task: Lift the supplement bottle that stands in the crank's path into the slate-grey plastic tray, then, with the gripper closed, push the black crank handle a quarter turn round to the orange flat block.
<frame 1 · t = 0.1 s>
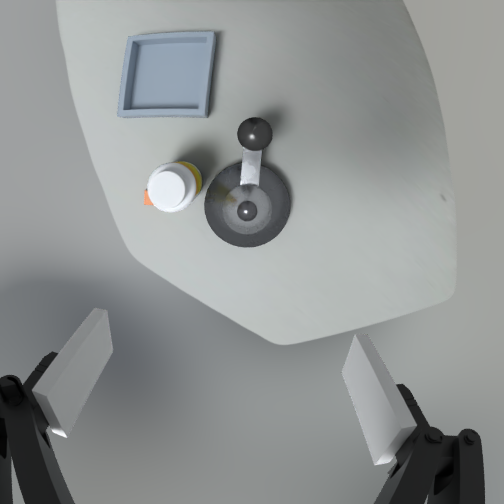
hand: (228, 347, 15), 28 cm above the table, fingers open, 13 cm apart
tray: (169, 76, 34), on the table
crank housing: (247, 203, 40), on the table
crank: (250, 179, 34), point 5 cm above the table, hinge at 0.0°
orange flat block: (156, 197, 40), on the table
supplement bottle: (182, 181, 39), on the table, touching orange flat block
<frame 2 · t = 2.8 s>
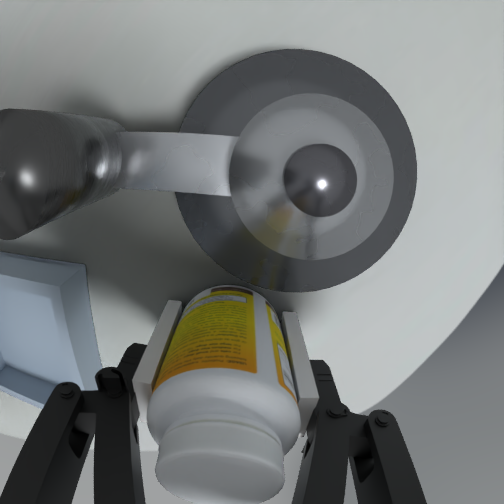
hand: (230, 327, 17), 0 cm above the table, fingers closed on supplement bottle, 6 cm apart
tray: (33, 328, 17), on the table
crank housing: (296, 169, 14), on the table
crank: (197, 167, 9), point 5 cm above the table, hinge at 0.0°
supplement bottle: (230, 325, 17), on the table, touching gripper
when the fingers open (3 cm above the table, at t = 6.9 s): supplement bottle drops 2 cm, resting on tray.
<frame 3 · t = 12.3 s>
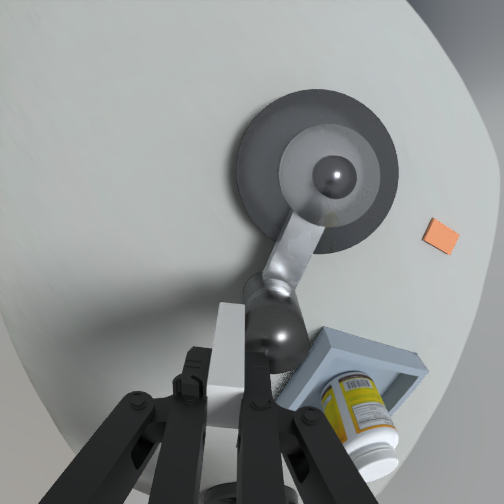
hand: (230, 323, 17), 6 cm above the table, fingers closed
tray: (344, 385, 27), on the table
crank housing: (316, 170, 20), on the table
crank: (308, 243, 16), point 5 cm above the table, hinge at 0.2°, touching gripper
orange flat block: (440, 236, 22), on the table
supplement bottle: (346, 387, 27), resting on tray
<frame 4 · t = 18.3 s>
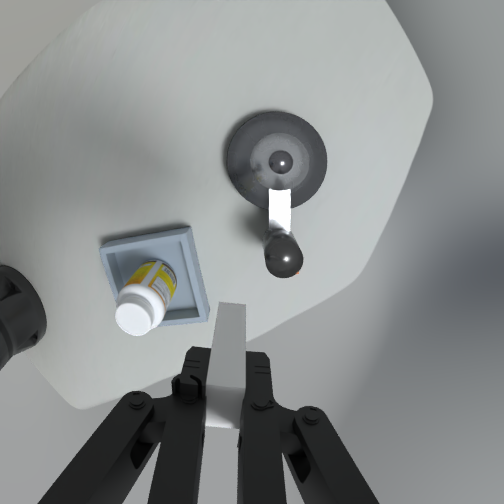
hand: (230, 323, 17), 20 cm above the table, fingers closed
tray: (158, 276, 38), on the table
crank housing: (276, 160, 34), on the table
crank: (281, 201, 30), point 5 cm above the table, hinge at 82.4°
supplement bottle: (158, 277, 38), resting on tray
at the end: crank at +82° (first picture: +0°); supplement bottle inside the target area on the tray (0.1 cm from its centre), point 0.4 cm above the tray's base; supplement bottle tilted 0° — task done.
